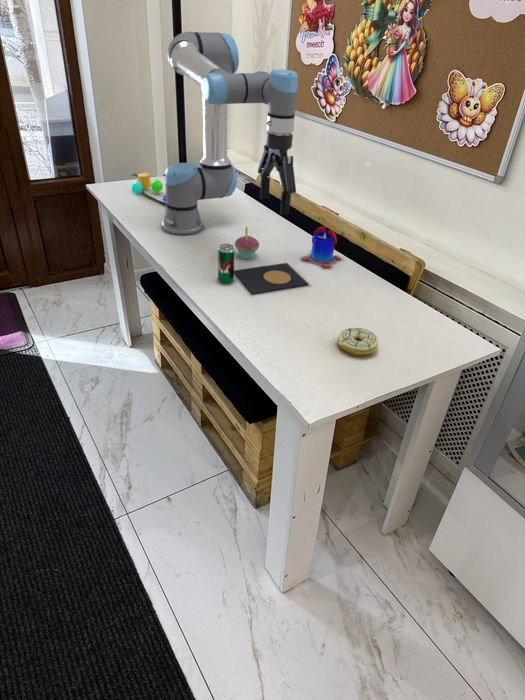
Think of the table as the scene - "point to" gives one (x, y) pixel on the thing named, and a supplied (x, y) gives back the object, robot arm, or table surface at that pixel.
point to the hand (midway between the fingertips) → (274, 206)
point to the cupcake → (247, 246)
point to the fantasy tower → (323, 248)
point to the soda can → (226, 263)
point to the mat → (270, 278)
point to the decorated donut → (357, 341)
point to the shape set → (146, 184)
